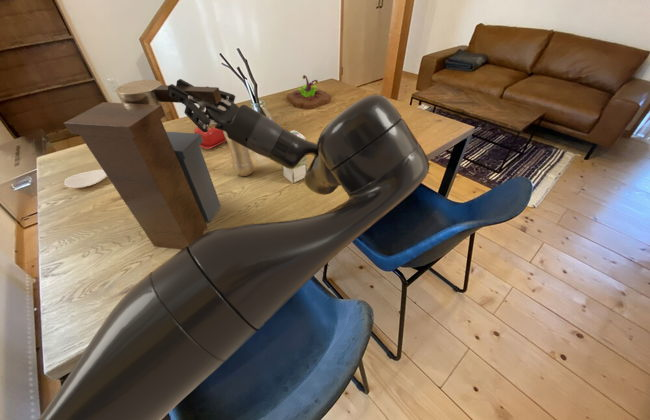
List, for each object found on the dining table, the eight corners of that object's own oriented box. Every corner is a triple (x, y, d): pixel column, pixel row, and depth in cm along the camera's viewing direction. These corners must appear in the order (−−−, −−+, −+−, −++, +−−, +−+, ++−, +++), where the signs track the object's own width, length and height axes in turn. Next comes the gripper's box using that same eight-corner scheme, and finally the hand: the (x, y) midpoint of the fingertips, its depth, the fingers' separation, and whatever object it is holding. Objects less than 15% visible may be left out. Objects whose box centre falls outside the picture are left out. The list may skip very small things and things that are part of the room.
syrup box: (297, 169, 91) (293, 128, 81) (308, 177, 88) (305, 135, 78) (282, 176, 89) (277, 134, 79) (293, 184, 85) (288, 142, 75)
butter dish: (208, 152, 100) (201, 130, 94) (190, 143, 105) (182, 122, 99) (233, 140, 106) (228, 119, 101) (215, 132, 112) (209, 111, 106)
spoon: (180, 164, 94) (177, 155, 92) (68, 196, 82) (60, 187, 79) (175, 152, 100) (172, 144, 98) (69, 181, 87) (62, 172, 85)
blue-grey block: (212, 224, 73) (182, 151, 58) (170, 220, 74) (130, 147, 59) (224, 204, 78) (200, 133, 64) (185, 201, 80) (153, 130, 65)
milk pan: (214, 124, 52) (206, 97, 49) (119, 118, 55) (105, 92, 51) (230, 107, 58) (224, 82, 55) (144, 102, 60) (133, 78, 57)
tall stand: (194, 252, 66) (129, 127, 44) (148, 247, 67) (63, 122, 45) (211, 226, 72) (161, 105, 51) (169, 221, 74) (103, 102, 52)
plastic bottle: (240, 181, 87) (224, 120, 73) (231, 171, 90) (214, 112, 77) (258, 173, 90) (246, 114, 76) (248, 164, 93) (235, 106, 80)
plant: (312, 90, 146) (311, 67, 138) (336, 100, 135) (337, 76, 127) (280, 99, 136) (277, 75, 129) (304, 111, 125) (302, 86, 118)
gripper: (272, 104, 59) (194, 57, 55) (250, 134, 49) (152, 80, 45) (261, 131, 64) (188, 90, 60) (238, 163, 54) (149, 117, 50)
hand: (173, 86), depth 53 cm, fingers closed on milk pan, 2 cm apart
